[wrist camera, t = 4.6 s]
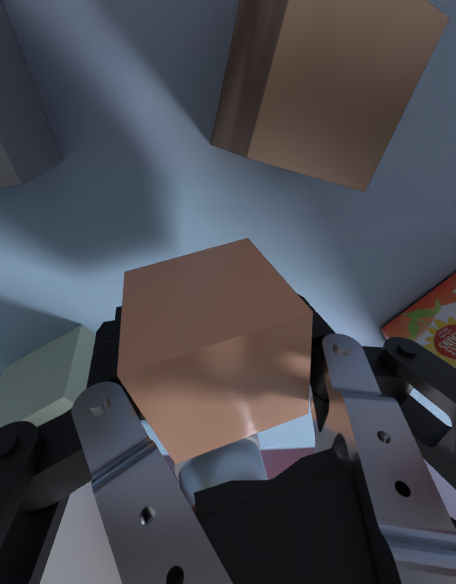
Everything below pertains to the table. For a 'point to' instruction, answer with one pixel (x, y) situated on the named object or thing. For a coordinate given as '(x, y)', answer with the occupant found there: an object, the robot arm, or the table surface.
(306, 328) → the terracotta cube
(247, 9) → the walnut cube
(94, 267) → the table surface
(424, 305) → the cracker box
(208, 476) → the plastic bottle
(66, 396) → the sage cube
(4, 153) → the charcoal cube
